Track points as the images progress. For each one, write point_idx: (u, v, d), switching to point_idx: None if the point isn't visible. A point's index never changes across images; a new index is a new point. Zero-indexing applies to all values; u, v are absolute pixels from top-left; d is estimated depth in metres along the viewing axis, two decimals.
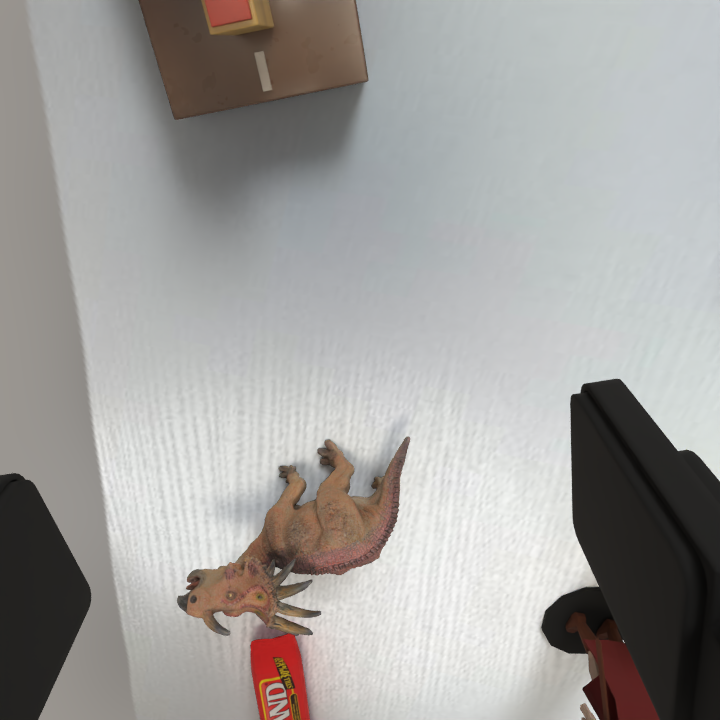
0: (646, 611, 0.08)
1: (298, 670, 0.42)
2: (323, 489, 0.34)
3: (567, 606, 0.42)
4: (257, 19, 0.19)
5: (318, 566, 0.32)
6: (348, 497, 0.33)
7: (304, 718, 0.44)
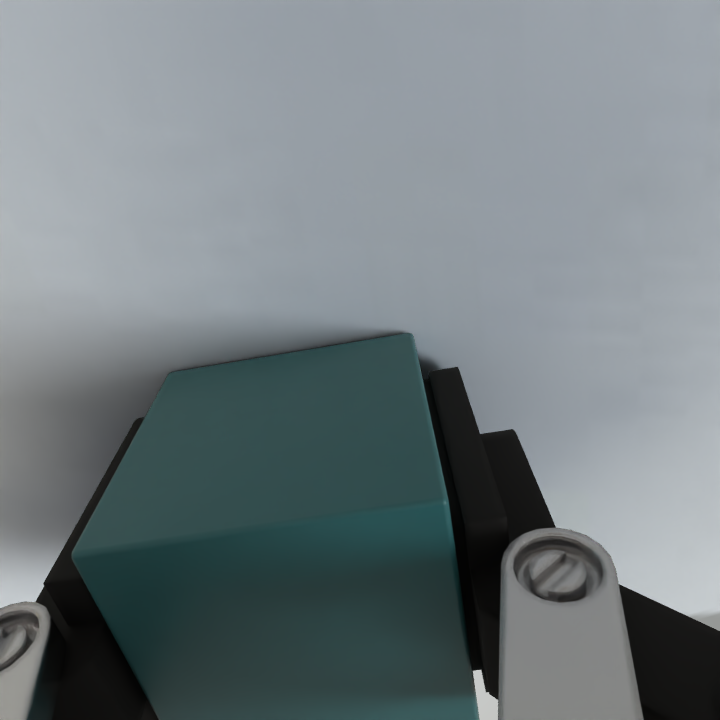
0: None
1: None
2: None
3: None
4: None
5: None
6: None
7: None
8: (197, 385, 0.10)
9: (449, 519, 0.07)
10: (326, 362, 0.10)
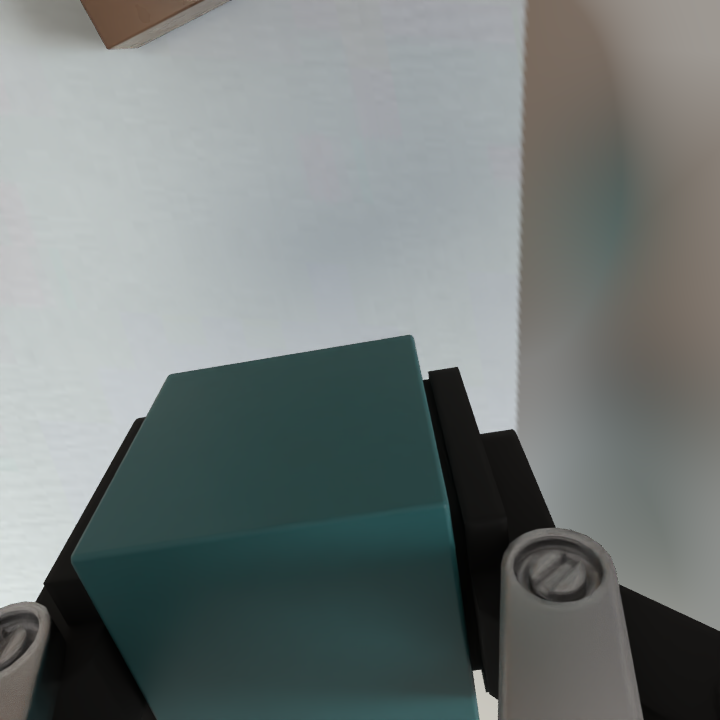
0: None
1: None
2: None
3: None
4: None
5: None
6: None
7: None
8: (197, 387, 0.10)
9: (449, 523, 0.07)
10: (326, 364, 0.10)
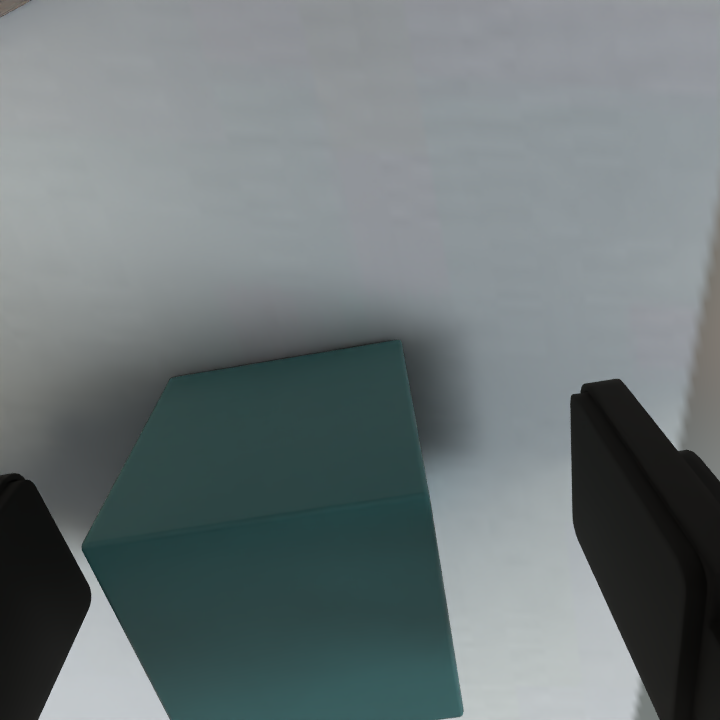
0: (646, 611, 0.08)
1: None
2: None
3: None
4: None
5: None
6: None
7: None
8: (197, 389, 0.11)
9: (430, 512, 0.07)
10: (319, 368, 0.11)
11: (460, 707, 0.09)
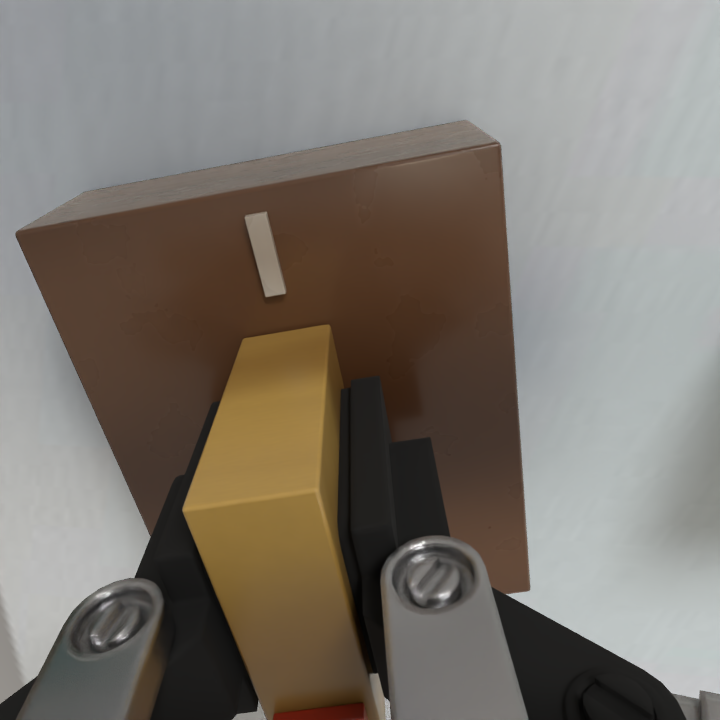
0: None
1: None
2: None
3: None
4: None
5: None
6: None
7: None
8: None
9: None
10: None
11: None
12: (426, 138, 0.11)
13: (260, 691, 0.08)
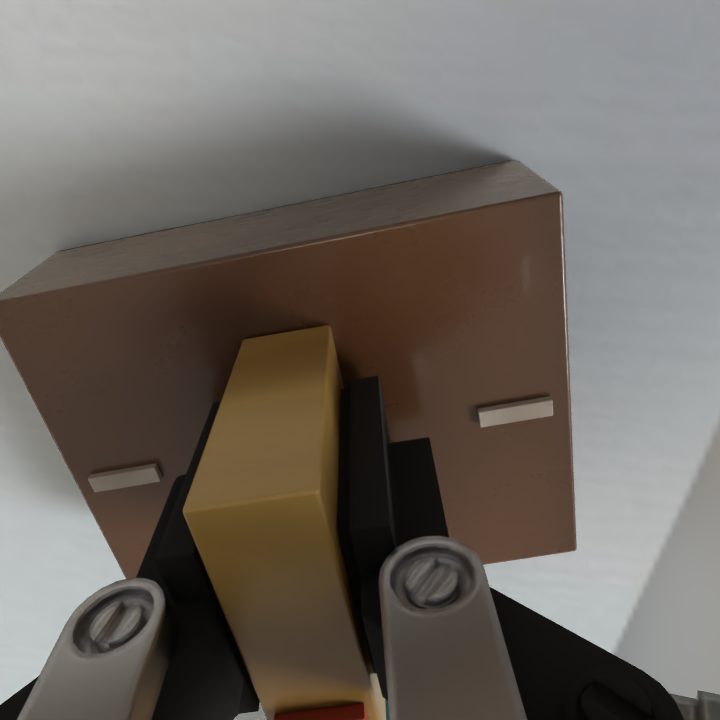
0: None
1: None
2: None
3: None
4: None
5: None
6: None
7: None
8: None
9: None
10: None
11: None
12: None
13: (260, 691, 0.08)
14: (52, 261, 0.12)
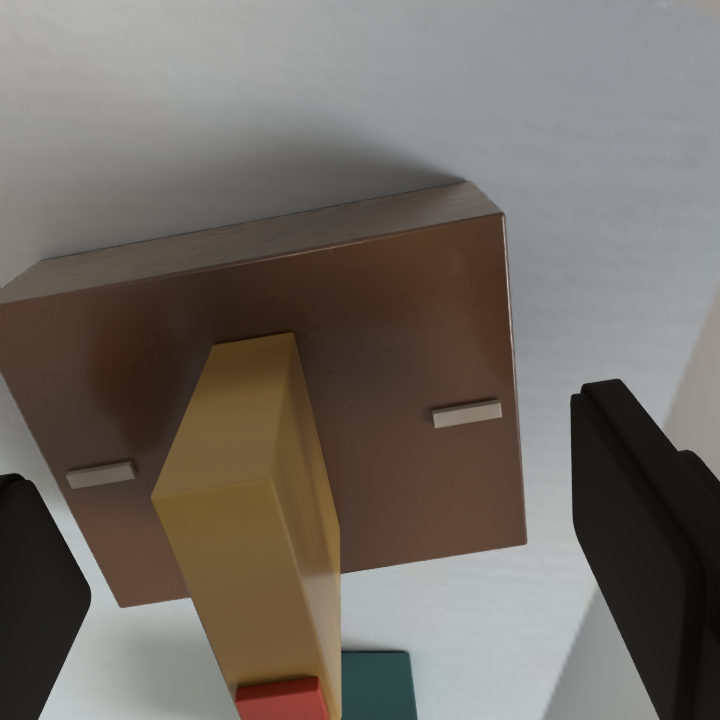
0: (646, 611, 0.08)
1: None
2: None
3: None
4: (339, 712, 0.10)
5: None
6: None
7: None
8: None
9: None
10: (365, 670, 0.20)
11: None
12: None
13: (223, 666, 0.09)
14: (34, 270, 0.13)
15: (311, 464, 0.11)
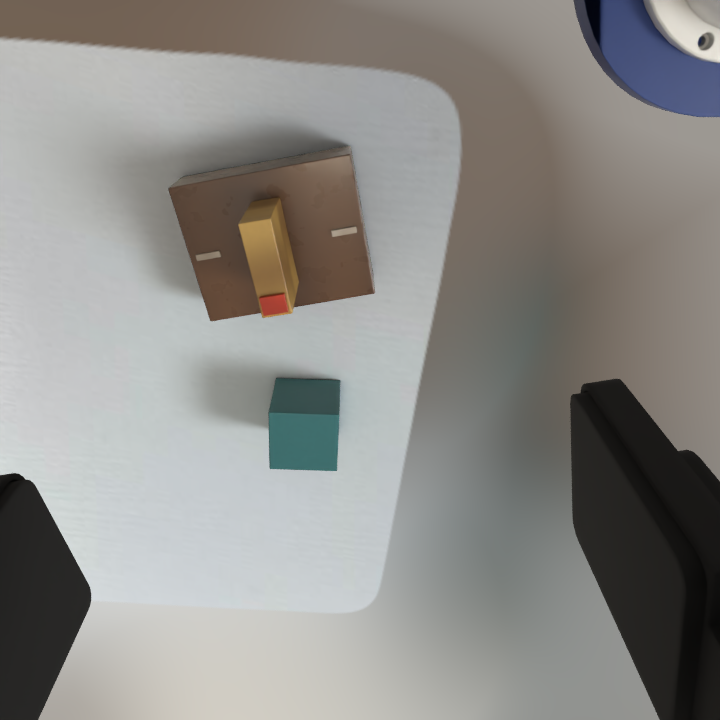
0: (646, 611, 0.08)
1: None
2: None
3: None
4: (291, 310, 0.31)
5: None
6: None
7: None
8: (285, 383, 0.41)
9: (338, 418, 0.38)
10: (317, 384, 0.41)
11: (336, 468, 0.40)
12: (371, 268, 0.37)
13: (256, 287, 0.31)
14: (183, 179, 0.35)
15: (285, 240, 0.33)
